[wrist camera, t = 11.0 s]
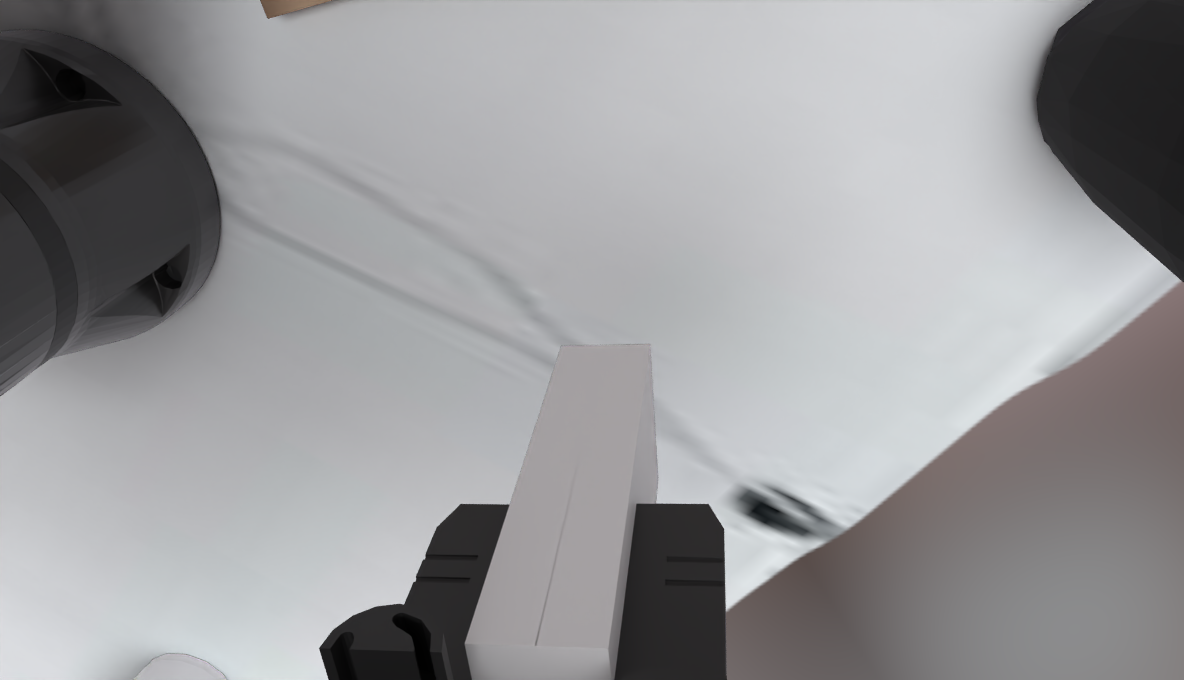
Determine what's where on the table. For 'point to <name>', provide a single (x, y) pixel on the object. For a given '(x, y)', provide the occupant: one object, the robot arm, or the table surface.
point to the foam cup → (179, 669)
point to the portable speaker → (1123, 116)
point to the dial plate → (287, 6)
